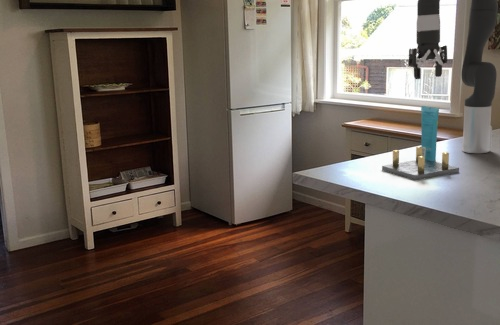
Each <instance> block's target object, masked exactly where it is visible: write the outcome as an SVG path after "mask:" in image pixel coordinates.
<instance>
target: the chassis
mask: <svg viewBox="0 0 500 325" xmlns="http://www.w3.org/2000/svg"><path fill="white" fill-rule="evenodd" d="M441 154H442V155H441V163H440V162H438V161H430V160H426V159H425V157H424V156H422V147H421V146H416V147H415V160H410V161H404V162H400V150H398V149H394V150H392V163H390V164H385V165H381V171H383V170H384V172H387V173H390V172H391V173H390V174H393V173H394V175H397V176H400V177H404V178H407V179H410V180H414V181H418V180H424V178H425V179H428V178H434V177H440V176H446V175H451V174H457V173H459V172H460V167H458V166H453V165H449V163H450V162H449V160H450V153H449V152H448V151H447V152H446V151H445V152H442V153H441Z"/></svg>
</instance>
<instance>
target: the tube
mask: <svg viewBox="0 0 500 325" xmlns="http://www.w3.org/2000/svg"><path fill="white" fill-rule="evenodd" d="M420 108H421V110H420V111H421V116H420V117H421V132H420V134H421V143H420V144H421V146H420V147H422V156H424V157H425V159H426V160H430V161H434V162H437V157H436V156H437V142H438V141H437V138H438V126H439V113H440V107H435V106H434V107H433V106H426V105H421V107H420Z"/></svg>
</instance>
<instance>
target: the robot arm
mask: <svg viewBox="0 0 500 325" xmlns="http://www.w3.org/2000/svg"><path fill="white" fill-rule="evenodd" d="M440 1H441V0H418V1H417V5H416V6H417V18H416V44H417V47H416V48H415V47H412V48H411V47H410V48H409V49H408V64H407V66H408V67H412V68H413V77H414V79H415V80H420V79H422V78H421V77H422V76H421V75H422V74H421V73H422V72H421V70H422V67H421V66H422V65H423V63H424V62H425V61H428V60H432V61H433V63H434V64H435V67H434V69H435V70H434V76H435V77H437V78H438V77H442V74H443V65H444V64H447V63H448V46H447V45H444V44H443V45H440V44H439V43H440V42H441V17H440V9H441V8H440V4H441V2H440ZM498 11H499V4H498V0H470V9H469V18H468V30H467V38H466V46H465V53H464V55H463V56H464V57H463V63H462V66H461V74H460V75H461V80H462V83H463V84H464V85H465V86H467V87H470V88H471V87H473V92H472V94H471V95H470V96H467V97H466V98H465V99H464V109H463V110H464V112H463V113H464V115H463V128H462V129H463V131H462V132H463V133H462V151H463V152H464V153H469V154H486V153H489V152H491V151H492V138H493V136H492V135H493V134H492V132H493V126H492V125H491V122H492V121H491V119H492V118H491V117H492V104H493V101H494V98H495V96H496V95H495V93H496V85H497V76H498V75H497V68H496V66H495V64H493V63H492V62H490V61H483V53H484V49H485V47H486V44H487V42H488V41H489V39H490V37H491V35H492V33H493V31H494V30H495V28H496V25H497V22H498V13H499V12H498Z"/></svg>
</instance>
